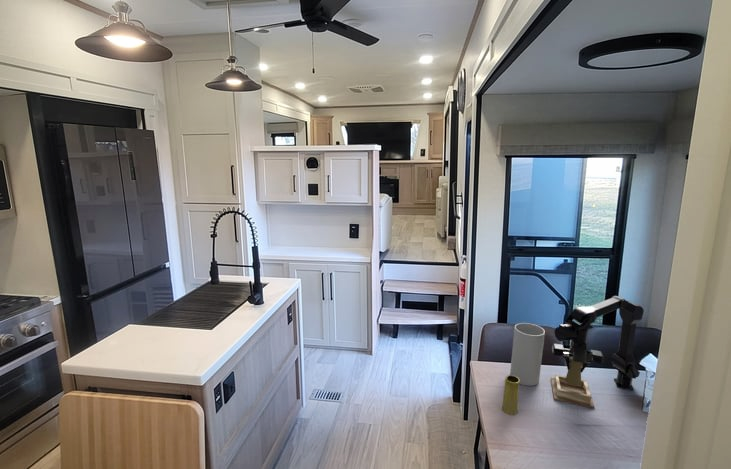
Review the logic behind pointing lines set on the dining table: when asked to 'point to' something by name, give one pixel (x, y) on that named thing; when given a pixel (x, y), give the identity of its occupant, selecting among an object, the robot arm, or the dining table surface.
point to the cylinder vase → (527, 353)
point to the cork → (574, 372)
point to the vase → (511, 395)
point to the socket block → (571, 392)
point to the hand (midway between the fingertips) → (574, 370)
